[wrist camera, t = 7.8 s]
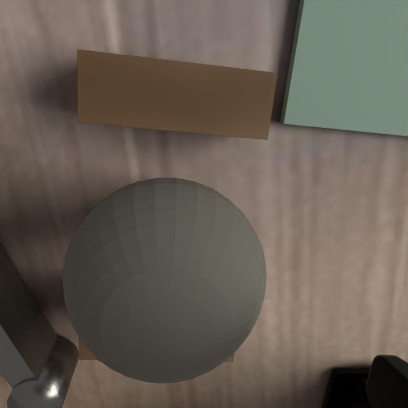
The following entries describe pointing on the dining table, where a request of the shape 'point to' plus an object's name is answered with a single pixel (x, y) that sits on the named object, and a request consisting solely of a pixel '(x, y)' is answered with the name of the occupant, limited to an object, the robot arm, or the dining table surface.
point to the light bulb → (164, 280)
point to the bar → (31, 346)
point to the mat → (349, 66)
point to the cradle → (172, 100)
